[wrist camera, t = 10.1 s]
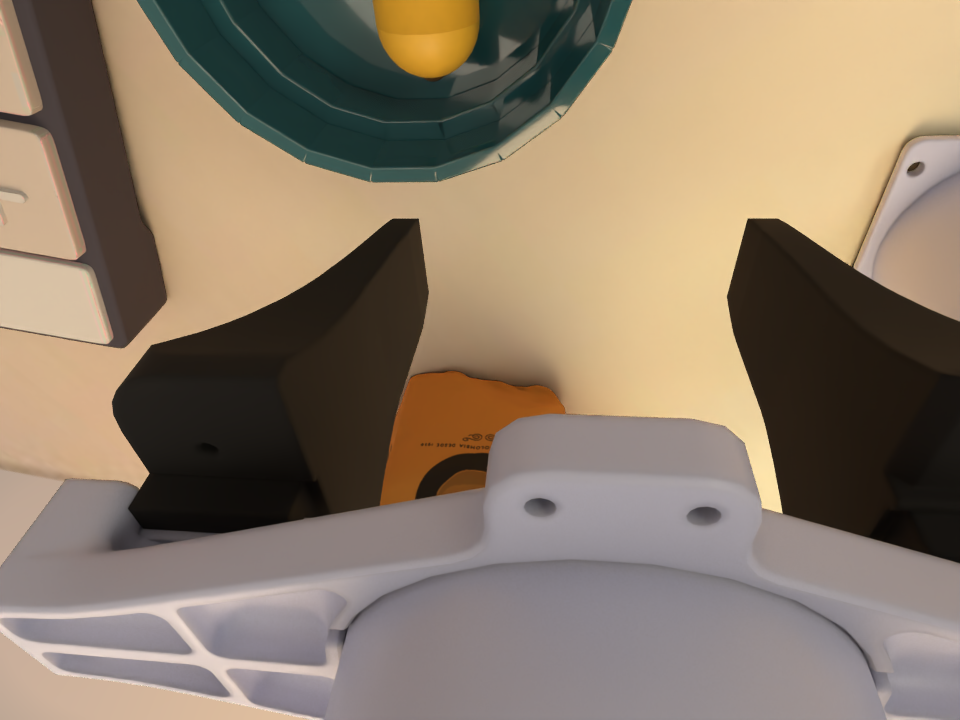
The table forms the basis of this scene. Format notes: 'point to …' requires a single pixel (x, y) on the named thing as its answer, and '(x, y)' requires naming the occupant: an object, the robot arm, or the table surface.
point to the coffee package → (453, 432)
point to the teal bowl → (388, 79)
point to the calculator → (67, 185)
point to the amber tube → (428, 34)
